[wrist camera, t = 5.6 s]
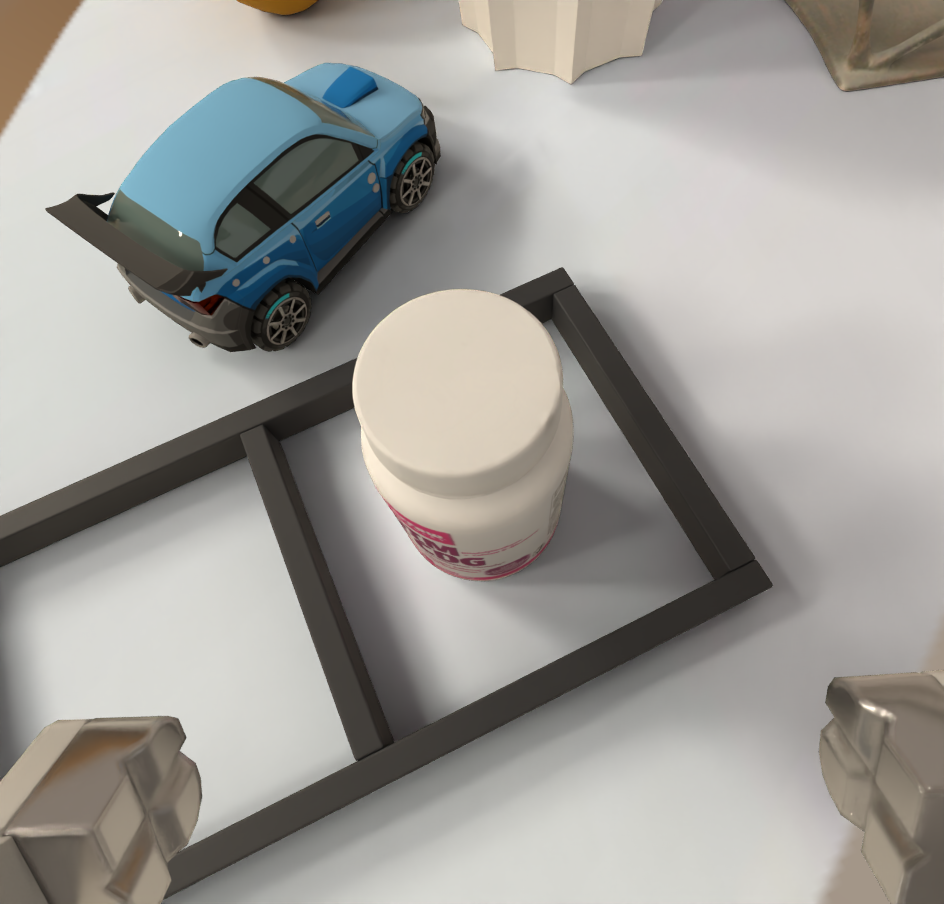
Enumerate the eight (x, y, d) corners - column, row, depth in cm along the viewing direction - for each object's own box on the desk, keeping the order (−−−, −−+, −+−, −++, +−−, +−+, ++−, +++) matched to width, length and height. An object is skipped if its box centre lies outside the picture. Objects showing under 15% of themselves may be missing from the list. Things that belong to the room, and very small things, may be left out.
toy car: (464, 168, 25) (448, 23, 20) (250, 394, 22) (163, 294, 17) (352, 109, 27) (309, -39, 21) (139, 312, 24) (27, 198, 18)
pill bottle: (397, 579, 19) (307, 488, 11) (414, 432, 21) (348, 266, 13) (558, 590, 19) (581, 502, 11) (563, 439, 20) (585, 270, 13)
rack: (755, 595, 18) (774, 585, 17) (-17, 991, 16) (-68, 1018, 15) (560, 293, 22) (563, 265, 21) (-70, 575, 20) (-113, 564, 19)
